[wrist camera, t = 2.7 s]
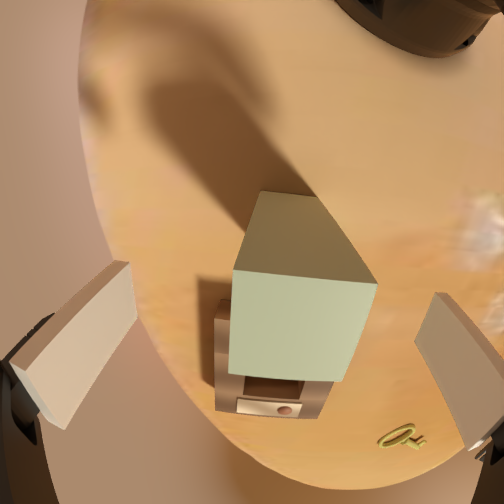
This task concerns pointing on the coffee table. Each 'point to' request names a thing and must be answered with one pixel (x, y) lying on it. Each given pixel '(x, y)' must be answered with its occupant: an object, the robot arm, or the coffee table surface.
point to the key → (401, 438)
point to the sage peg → (296, 293)
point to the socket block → (260, 384)
